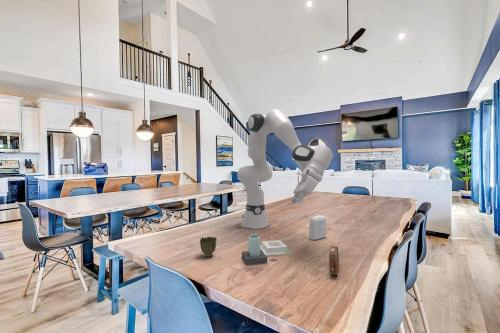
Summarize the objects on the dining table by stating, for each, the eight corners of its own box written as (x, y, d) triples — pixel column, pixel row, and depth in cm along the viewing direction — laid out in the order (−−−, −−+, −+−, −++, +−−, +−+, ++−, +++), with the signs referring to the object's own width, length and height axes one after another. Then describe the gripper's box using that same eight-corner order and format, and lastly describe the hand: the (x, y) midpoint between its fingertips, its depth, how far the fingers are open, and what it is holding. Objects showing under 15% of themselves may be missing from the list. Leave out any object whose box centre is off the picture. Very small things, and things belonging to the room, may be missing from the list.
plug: (248, 258, 113) (248, 233, 113) (257, 257, 114) (257, 232, 114) (250, 262, 109) (250, 236, 109) (259, 261, 110) (259, 235, 110)
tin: (337, 279, 94) (337, 256, 93) (328, 278, 95) (328, 255, 95) (339, 263, 108) (339, 243, 107) (331, 262, 109) (331, 242, 109)
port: (258, 247, 127) (258, 241, 127) (281, 245, 130) (281, 239, 130) (265, 256, 116) (265, 249, 116) (290, 253, 119) (290, 247, 118)
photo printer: (321, 235, 146) (321, 213, 145) (327, 237, 142) (327, 215, 142) (308, 238, 140) (308, 216, 140) (314, 240, 137) (314, 217, 136)
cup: (202, 253, 120) (201, 236, 120) (217, 253, 120) (217, 236, 119) (198, 259, 112) (198, 241, 112) (215, 259, 112) (215, 241, 112)
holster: (242, 257, 115) (241, 251, 115) (261, 255, 117) (261, 249, 117) (246, 265, 106) (246, 259, 106) (267, 263, 108) (267, 257, 108)
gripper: (299, 175, 129) (285, 199, 126) (311, 169, 109) (294, 197, 106) (310, 182, 128) (296, 206, 126) (324, 177, 108) (307, 205, 106)
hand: (295, 202), depth 116 cm, fingers open, 8 cm apart
